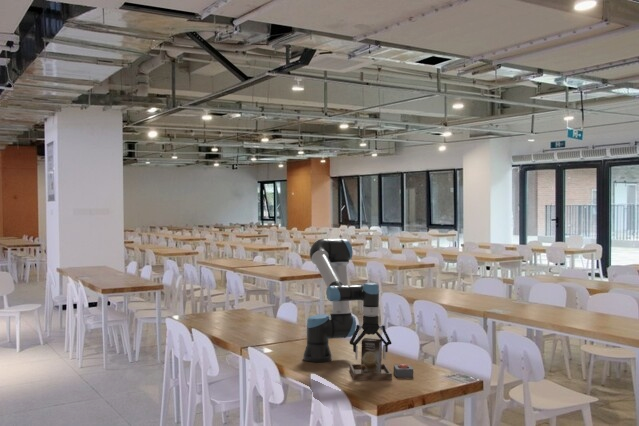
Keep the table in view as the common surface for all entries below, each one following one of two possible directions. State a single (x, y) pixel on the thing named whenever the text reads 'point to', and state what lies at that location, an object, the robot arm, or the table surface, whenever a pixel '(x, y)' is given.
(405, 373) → the button housing
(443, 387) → the table surface
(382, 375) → the wooden tray
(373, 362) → the coffee box
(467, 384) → the table surface
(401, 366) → the button
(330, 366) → the table surface
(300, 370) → the table surface
